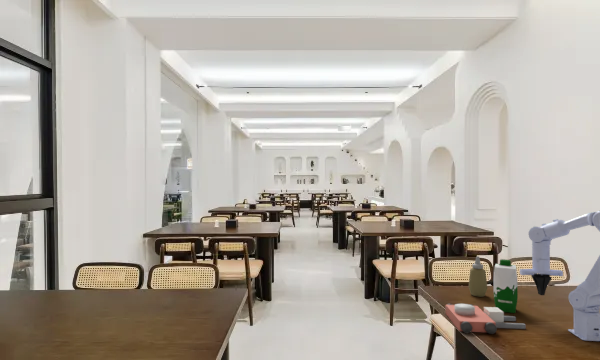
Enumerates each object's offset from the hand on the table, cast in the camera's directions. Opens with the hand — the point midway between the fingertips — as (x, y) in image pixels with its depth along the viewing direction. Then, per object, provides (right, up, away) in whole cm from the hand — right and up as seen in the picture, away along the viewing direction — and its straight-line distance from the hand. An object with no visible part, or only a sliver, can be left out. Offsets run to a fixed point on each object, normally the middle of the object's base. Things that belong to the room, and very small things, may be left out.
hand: (541, 294), depth 152 cm
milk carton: (-6, -10, +14) cm, 18 cm away
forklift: (-22, -10, -3) cm, 24 cm away
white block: (-21, -10, -3) cm, 23 cm away
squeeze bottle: (-8, -11, +36) cm, 38 cm away
